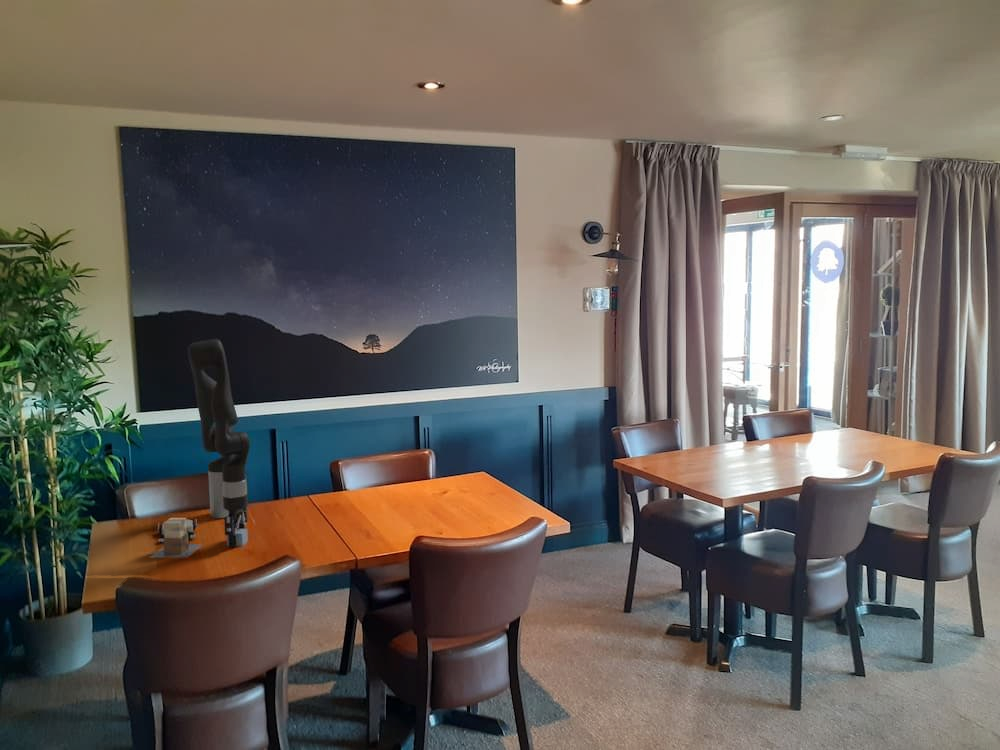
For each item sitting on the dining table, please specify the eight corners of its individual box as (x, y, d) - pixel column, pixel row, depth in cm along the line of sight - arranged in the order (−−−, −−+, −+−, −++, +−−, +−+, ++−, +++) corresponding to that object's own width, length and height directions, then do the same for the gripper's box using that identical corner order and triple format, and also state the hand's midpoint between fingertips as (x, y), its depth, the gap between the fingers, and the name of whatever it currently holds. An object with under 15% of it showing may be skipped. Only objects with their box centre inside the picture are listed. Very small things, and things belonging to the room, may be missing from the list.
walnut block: (171, 547, 240) (170, 532, 240) (188, 547, 240) (187, 532, 240) (164, 553, 235) (163, 538, 234) (181, 553, 235) (180, 538, 234)
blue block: (232, 543, 247) (232, 528, 246) (247, 543, 247) (247, 528, 246) (227, 548, 242) (226, 533, 241) (242, 548, 242) (242, 533, 242)
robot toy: (197, 545, 248) (197, 528, 262) (196, 532, 247) (196, 516, 261) (157, 550, 244) (158, 533, 257) (156, 537, 243) (158, 520, 256)
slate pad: (166, 546, 244) (166, 544, 243) (202, 546, 244) (202, 544, 243) (149, 560, 232) (148, 557, 231) (187, 559, 232) (187, 557, 232)
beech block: (171, 533, 239) (170, 517, 239) (186, 532, 239) (186, 517, 239) (164, 538, 234) (163, 522, 234) (180, 538, 234) (179, 522, 234)
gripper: (231, 487, 250) (233, 535, 251) (215, 499, 235) (217, 549, 237) (253, 487, 250) (255, 534, 251) (238, 499, 235) (241, 549, 237)
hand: (237, 541), depth 244 cm, fingers open, 8 cm apart
